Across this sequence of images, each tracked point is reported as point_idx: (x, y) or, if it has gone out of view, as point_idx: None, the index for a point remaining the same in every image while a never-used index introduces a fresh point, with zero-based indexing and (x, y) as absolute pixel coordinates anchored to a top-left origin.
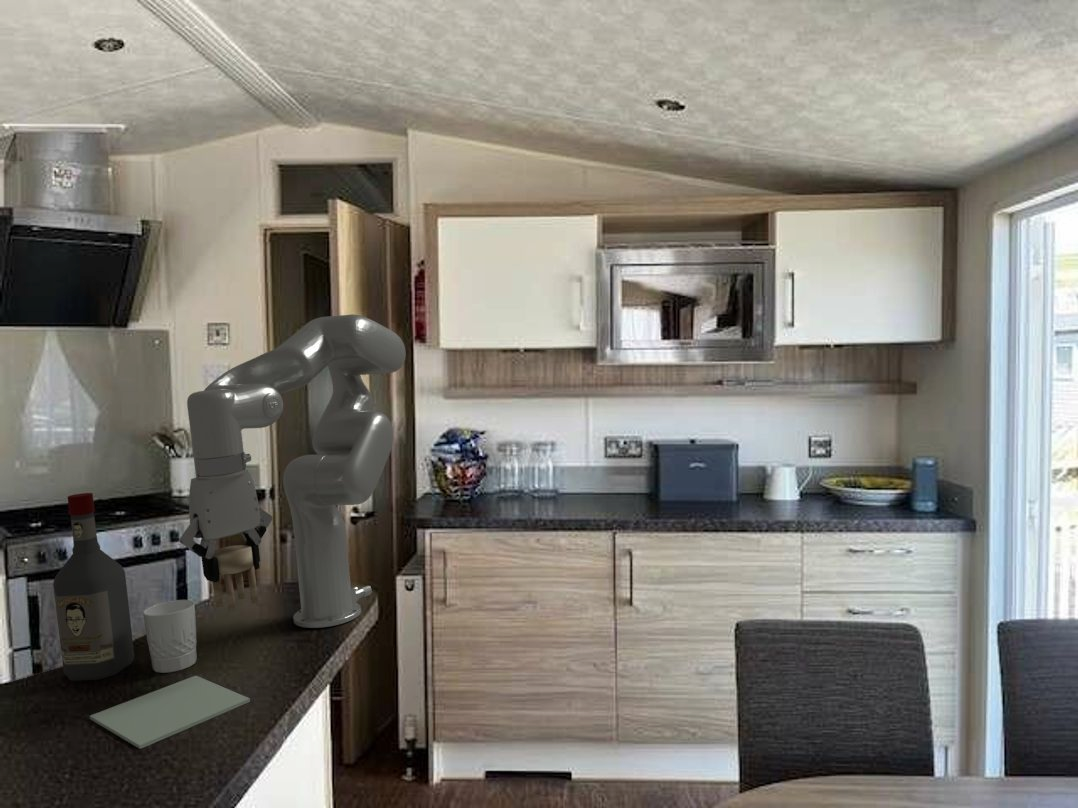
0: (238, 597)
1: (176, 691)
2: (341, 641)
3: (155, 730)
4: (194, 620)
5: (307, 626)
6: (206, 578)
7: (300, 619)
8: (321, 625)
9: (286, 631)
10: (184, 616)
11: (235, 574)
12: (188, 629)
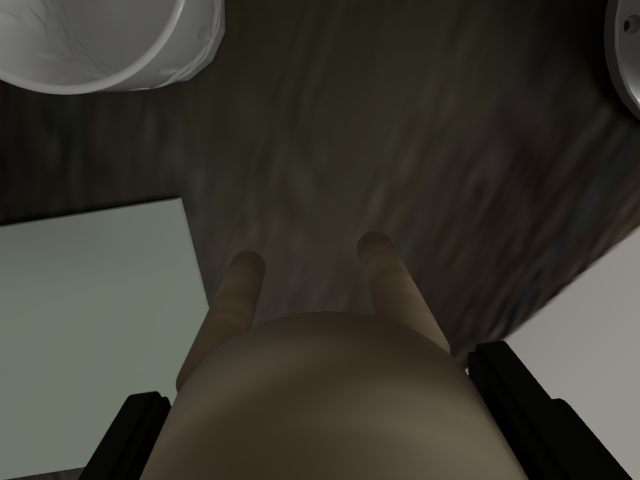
0: (358, 254)
1: (107, 270)
2: (585, 269)
3: (29, 443)
4: (191, 40)
5: (611, 70)
6: (132, 399)
7: (633, 7)
8: (638, 114)
9: (553, 23)
10: (119, 87)
11: (376, 314)
12: (158, 79)
